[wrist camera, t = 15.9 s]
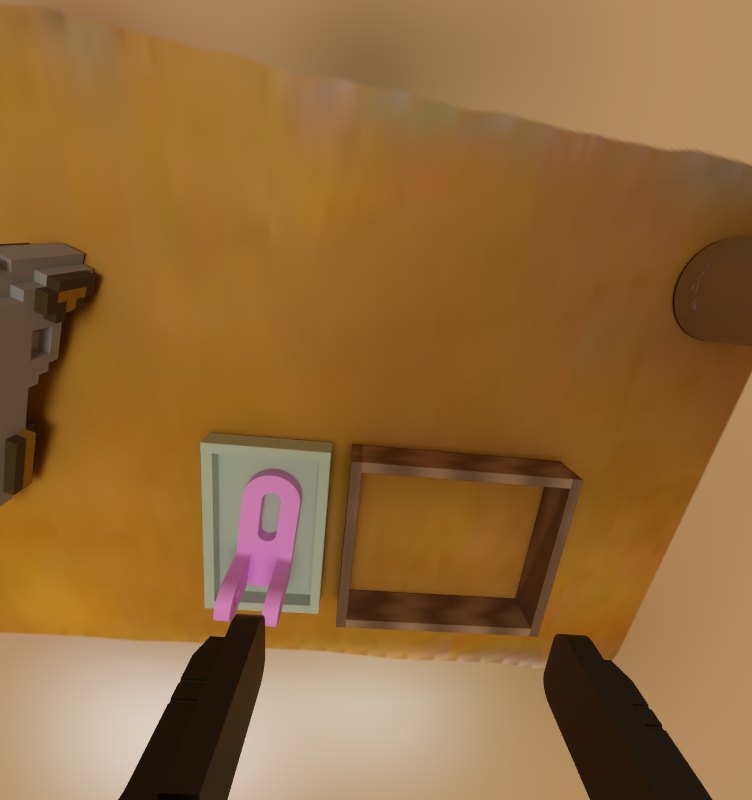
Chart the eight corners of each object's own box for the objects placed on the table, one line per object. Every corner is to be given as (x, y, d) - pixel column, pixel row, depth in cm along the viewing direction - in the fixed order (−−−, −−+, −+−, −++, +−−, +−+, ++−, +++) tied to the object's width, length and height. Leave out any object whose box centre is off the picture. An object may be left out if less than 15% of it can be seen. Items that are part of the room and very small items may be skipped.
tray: (333, 442, 36) (331, 452, 34) (320, 595, 41) (318, 613, 39) (211, 432, 35) (200, 442, 33) (214, 589, 40) (204, 608, 38)
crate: (560, 461, 38) (583, 480, 34) (521, 606, 43) (537, 636, 39) (352, 444, 36) (351, 461, 32) (338, 596, 41) (335, 626, 37)
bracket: (289, 579, 39) (274, 637, 32) (237, 572, 39) (211, 630, 32) (305, 473, 36) (292, 513, 29) (249, 464, 35) (223, 503, 29)
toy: (106, 264, 30) (-16, 280, 21) (75, 462, 40) (-18, 530, 31) (39, 231, 30) (-117, 233, 21) (24, 442, 39) (-87, 506, 30)
